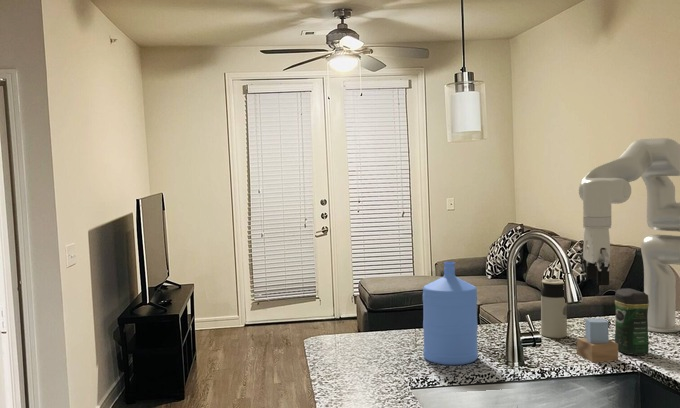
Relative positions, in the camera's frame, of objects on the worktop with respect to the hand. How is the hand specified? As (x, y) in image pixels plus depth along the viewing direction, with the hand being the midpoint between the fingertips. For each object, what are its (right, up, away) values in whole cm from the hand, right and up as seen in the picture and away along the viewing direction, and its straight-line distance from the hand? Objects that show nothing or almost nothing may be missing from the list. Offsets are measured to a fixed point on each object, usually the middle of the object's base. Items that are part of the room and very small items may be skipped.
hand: (597, 282), depth 189 cm
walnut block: (0, -22, +1) cm, 22 cm away
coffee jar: (+12, -22, +6) cm, 25 cm away
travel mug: (-4, -21, +26) cm, 34 cm away
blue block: (0, -17, +1) cm, 17 cm away
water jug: (-42, -23, +3) cm, 48 cm away
